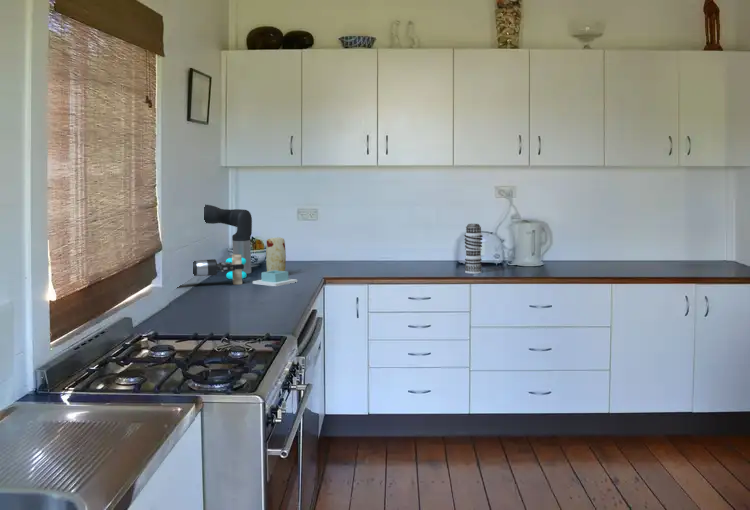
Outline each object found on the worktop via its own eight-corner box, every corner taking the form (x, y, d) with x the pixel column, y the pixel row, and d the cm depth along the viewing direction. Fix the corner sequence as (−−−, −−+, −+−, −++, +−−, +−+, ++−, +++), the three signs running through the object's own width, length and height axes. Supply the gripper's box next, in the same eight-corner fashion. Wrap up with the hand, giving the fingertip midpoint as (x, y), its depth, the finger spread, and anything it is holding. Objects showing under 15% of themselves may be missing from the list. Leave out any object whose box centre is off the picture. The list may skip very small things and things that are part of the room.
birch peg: (230, 284, 349) (229, 254, 347) (237, 283, 352) (236, 253, 351) (237, 285, 346) (236, 255, 345) (244, 283, 350) (243, 254, 348)
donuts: (222, 258, 368) (242, 256, 373) (223, 277, 370) (242, 276, 375) (229, 260, 360) (248, 258, 365) (230, 280, 361) (249, 278, 366)
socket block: (252, 283, 350) (252, 272, 349) (274, 279, 362) (274, 269, 361) (276, 286, 341) (275, 275, 341) (297, 282, 353) (297, 271, 353)
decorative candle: (479, 274, 374) (479, 224, 371) (461, 273, 378) (462, 224, 375) (484, 271, 382) (484, 223, 379) (467, 270, 386) (467, 223, 383)
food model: (267, 278, 367) (266, 238, 364) (266, 276, 373) (265, 236, 371) (286, 277, 369) (285, 237, 367) (285, 275, 376) (284, 236, 373)
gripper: (207, 261, 336) (245, 259, 342) (203, 258, 350) (240, 256, 355) (208, 277, 337) (245, 275, 343) (204, 273, 351) (240, 271, 356)
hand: (242, 265), depth 349 cm, fingers closed on birch peg, 4 cm apart
